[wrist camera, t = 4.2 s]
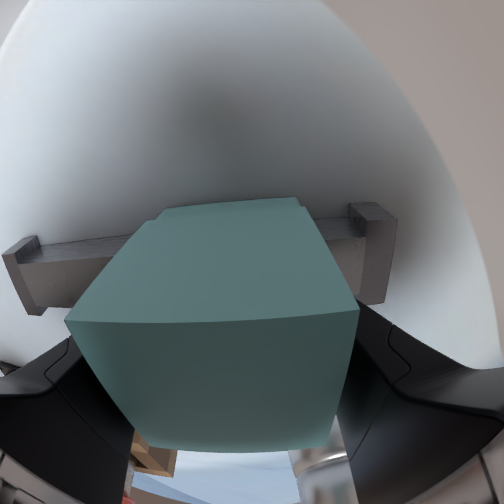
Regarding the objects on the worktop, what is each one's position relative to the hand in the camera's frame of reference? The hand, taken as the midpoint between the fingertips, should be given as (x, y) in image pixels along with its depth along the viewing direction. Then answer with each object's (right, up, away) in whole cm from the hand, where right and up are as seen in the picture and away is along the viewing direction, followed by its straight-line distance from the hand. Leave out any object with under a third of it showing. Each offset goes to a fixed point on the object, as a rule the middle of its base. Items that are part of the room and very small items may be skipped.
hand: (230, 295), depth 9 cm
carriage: (0, +1, +3) cm, 3 cm away
